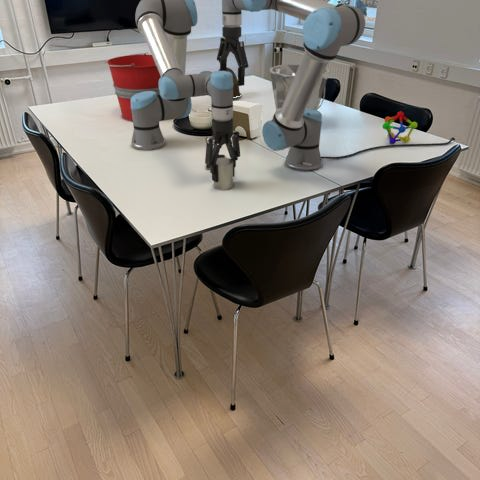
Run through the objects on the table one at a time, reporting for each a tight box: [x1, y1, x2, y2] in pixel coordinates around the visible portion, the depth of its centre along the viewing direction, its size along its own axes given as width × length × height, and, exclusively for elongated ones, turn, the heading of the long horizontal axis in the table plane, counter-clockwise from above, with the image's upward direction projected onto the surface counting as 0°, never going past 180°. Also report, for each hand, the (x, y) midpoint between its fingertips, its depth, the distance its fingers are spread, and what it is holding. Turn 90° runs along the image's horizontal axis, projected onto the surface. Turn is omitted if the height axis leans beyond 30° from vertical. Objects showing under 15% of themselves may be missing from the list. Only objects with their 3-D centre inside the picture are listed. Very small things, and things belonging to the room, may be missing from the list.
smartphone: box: [205, 154, 226, 170], centre depth 188 cm, size 7×1×15 cm
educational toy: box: [382, 110, 418, 145], centre depth 207 cm, size 16×13×15 cm
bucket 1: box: [103, 52, 161, 122], centre depth 240 cm, size 35×35×30 cm
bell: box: [217, 58, 242, 97], centre depth 278 cm, size 19×26×20 cm
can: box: [213, 157, 234, 191], centre depth 167 cm, size 7×7×10 cm
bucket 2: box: [269, 63, 330, 111], centre depth 226 cm, size 30×30×28 cm
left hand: (223, 178), depth 168 cm, fingers closed on can, 7 cm apart
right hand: (232, 82), depth 184 cm, fingers open, 13 cm apart
